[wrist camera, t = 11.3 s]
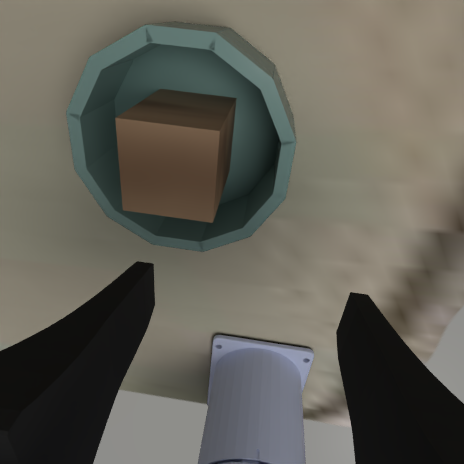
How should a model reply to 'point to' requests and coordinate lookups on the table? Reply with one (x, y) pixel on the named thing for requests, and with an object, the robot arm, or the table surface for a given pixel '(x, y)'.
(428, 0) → the table surface
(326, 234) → the table surface
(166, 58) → the teal bowl
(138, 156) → the walnut block
